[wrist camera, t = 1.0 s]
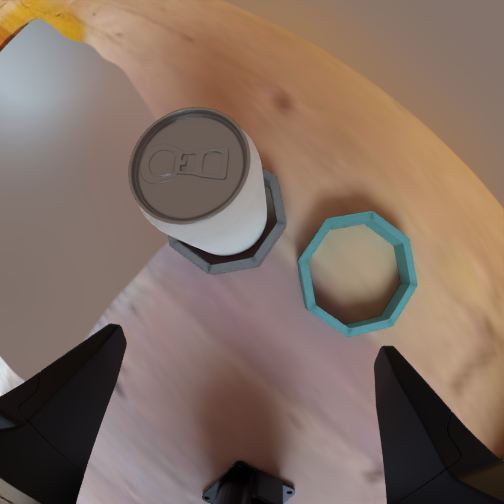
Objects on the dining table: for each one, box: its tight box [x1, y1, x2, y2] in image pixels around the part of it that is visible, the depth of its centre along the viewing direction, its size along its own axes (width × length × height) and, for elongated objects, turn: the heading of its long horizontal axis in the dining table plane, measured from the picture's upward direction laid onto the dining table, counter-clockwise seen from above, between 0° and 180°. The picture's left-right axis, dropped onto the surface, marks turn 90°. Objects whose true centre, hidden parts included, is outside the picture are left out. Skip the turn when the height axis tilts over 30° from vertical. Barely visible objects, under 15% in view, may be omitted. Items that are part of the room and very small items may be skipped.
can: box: [128, 107, 267, 256], centre depth 19 cm, size 6×6×12 cm
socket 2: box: [297, 211, 417, 337], centre depth 23 cm, size 9×9×2 cm
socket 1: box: [168, 167, 287, 275], centre depth 24 cm, size 9×9×2 cm
